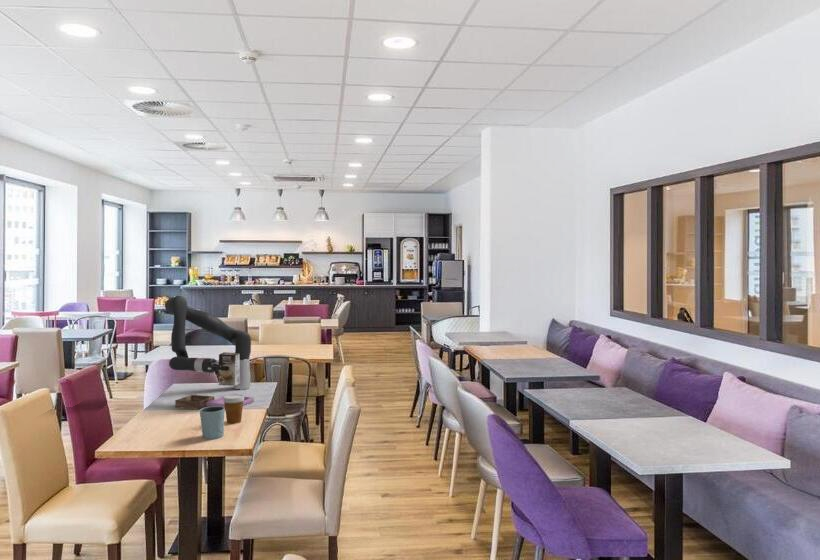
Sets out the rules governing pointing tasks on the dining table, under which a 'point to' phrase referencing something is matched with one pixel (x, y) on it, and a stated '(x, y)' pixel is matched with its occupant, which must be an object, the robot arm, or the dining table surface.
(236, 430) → the dining table surface
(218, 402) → the tray
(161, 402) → the dining table surface
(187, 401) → the holder
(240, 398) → the disposable coffee cup
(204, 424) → the teal cup
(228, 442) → the dining table surface
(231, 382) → the coffee box
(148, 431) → the dining table surface
